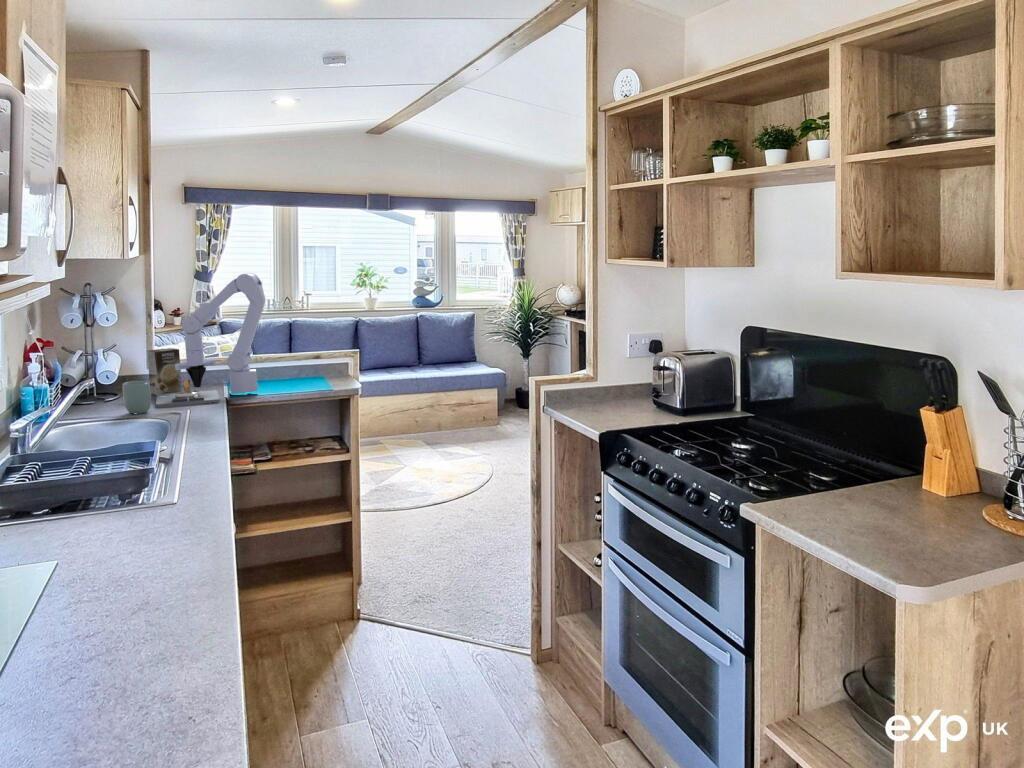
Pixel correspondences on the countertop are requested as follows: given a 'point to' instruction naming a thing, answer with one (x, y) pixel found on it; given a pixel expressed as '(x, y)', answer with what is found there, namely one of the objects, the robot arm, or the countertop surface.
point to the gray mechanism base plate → (186, 399)
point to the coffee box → (164, 371)
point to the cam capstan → (187, 391)
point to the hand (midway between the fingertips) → (197, 386)
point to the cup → (137, 396)
